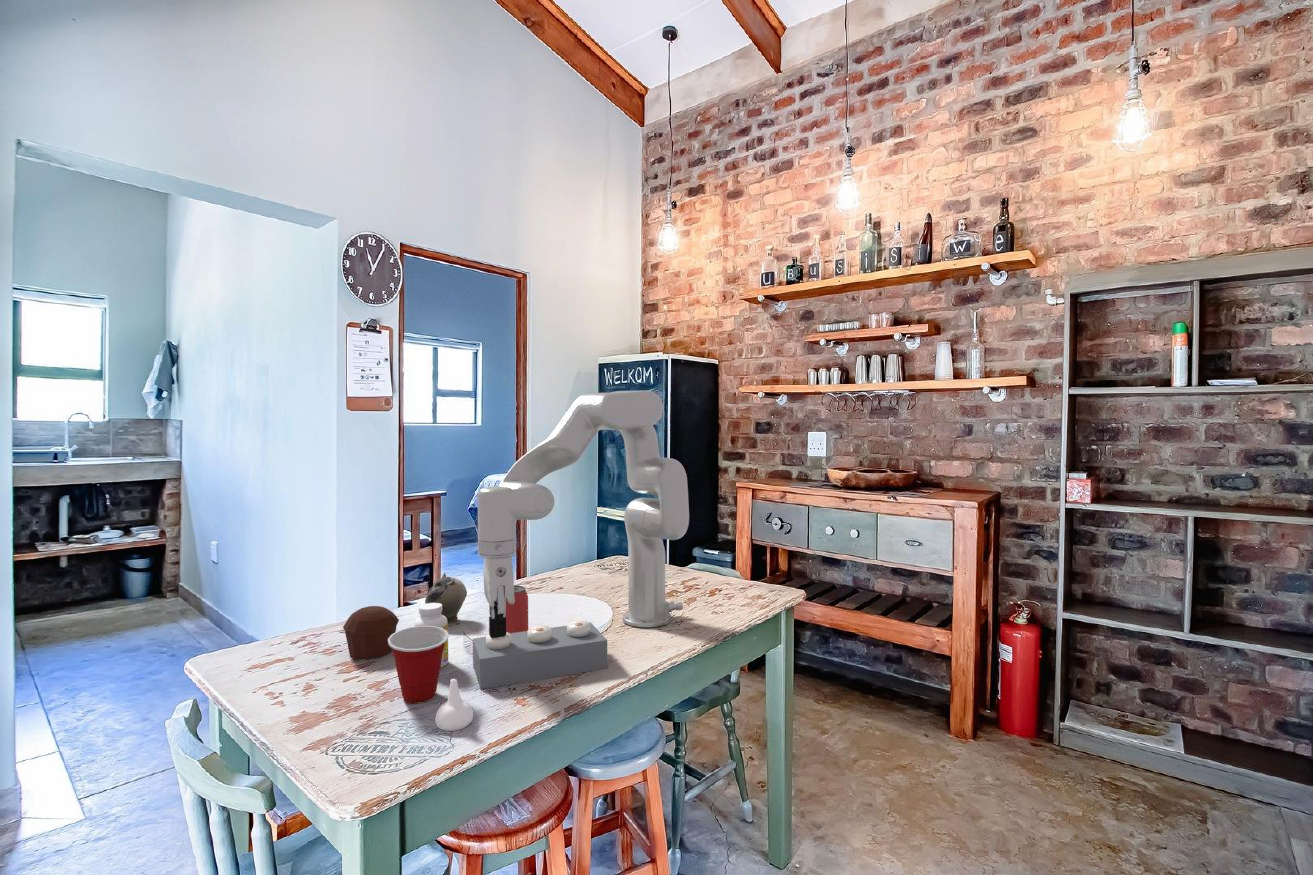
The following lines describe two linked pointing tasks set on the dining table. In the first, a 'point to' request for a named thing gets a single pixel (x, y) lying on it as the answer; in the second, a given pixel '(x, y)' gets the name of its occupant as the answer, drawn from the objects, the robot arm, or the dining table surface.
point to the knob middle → (539, 634)
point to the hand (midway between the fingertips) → (497, 635)
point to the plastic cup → (418, 660)
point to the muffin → (370, 632)
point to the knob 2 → (578, 628)
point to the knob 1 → (498, 642)
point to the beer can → (517, 611)
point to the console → (538, 657)
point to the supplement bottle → (434, 623)
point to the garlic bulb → (454, 711)
